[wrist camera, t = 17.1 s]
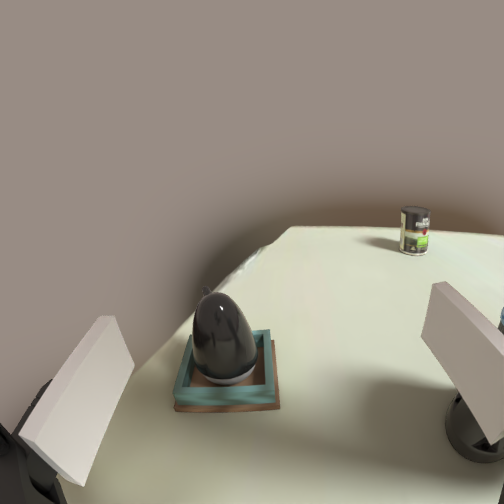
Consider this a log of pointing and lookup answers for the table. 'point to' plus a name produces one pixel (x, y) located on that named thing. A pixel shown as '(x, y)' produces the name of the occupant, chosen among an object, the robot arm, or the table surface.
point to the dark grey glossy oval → (222, 340)
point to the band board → (230, 396)
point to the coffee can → (414, 230)
